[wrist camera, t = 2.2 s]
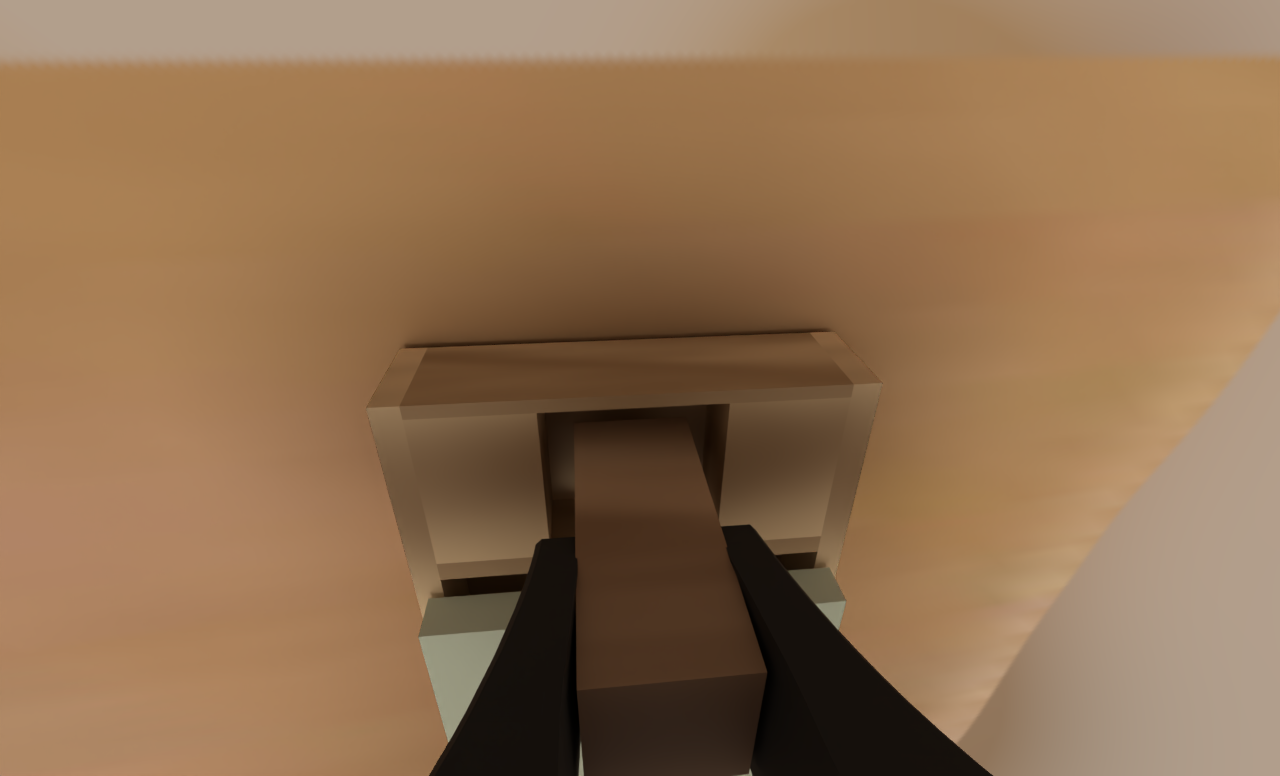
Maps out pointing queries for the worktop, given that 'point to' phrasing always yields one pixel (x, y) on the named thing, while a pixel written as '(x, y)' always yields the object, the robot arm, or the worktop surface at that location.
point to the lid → (475, 624)
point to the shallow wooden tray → (612, 391)
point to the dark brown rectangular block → (658, 610)
